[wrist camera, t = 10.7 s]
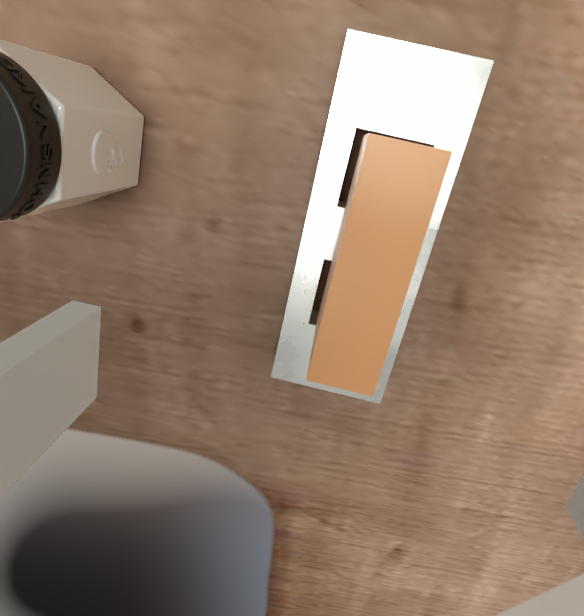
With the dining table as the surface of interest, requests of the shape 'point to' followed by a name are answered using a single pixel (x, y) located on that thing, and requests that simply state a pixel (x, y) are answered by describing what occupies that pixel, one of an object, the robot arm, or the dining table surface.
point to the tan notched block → (374, 259)
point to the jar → (61, 134)
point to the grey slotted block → (335, 153)
